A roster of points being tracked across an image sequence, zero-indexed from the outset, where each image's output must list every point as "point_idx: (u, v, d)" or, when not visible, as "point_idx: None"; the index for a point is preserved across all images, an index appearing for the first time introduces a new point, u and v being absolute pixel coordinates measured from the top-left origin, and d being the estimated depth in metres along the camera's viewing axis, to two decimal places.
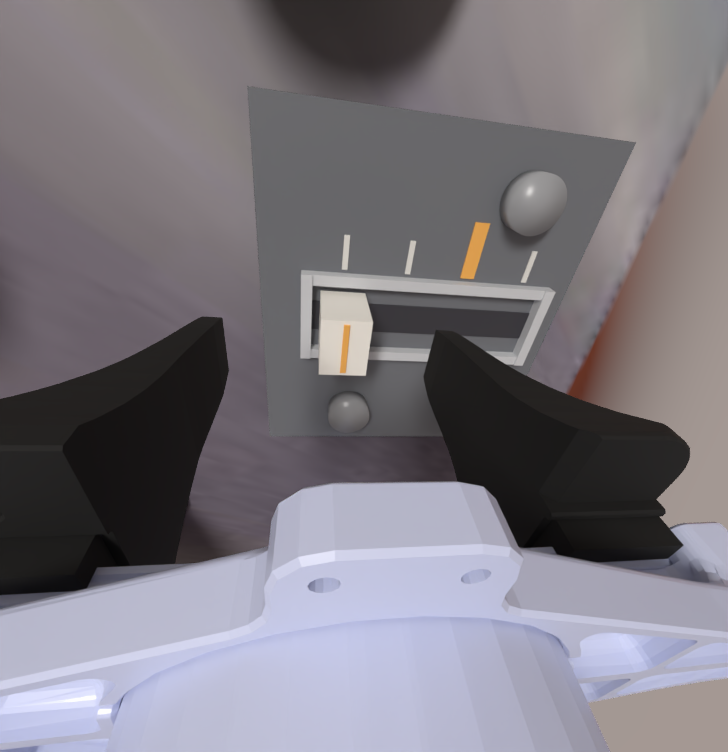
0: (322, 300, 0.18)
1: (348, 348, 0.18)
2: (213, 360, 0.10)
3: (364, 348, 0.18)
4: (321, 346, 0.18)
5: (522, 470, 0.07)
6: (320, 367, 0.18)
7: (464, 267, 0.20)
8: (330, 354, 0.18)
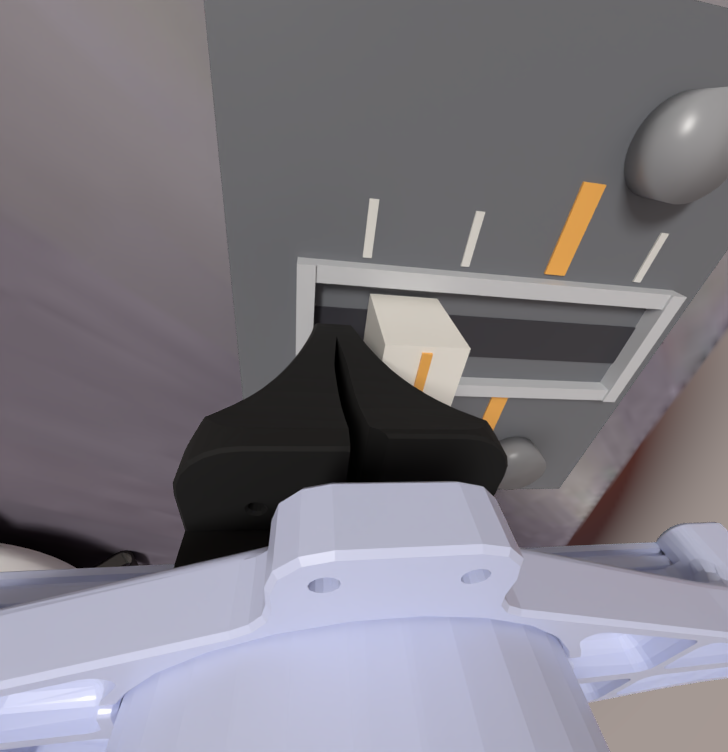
0: (377, 309, 0.11)
1: (422, 389, 0.11)
2: (334, 364, 0.11)
3: (448, 389, 0.11)
4: None
5: (354, 471, 0.07)
6: None
7: (553, 257, 0.13)
8: None
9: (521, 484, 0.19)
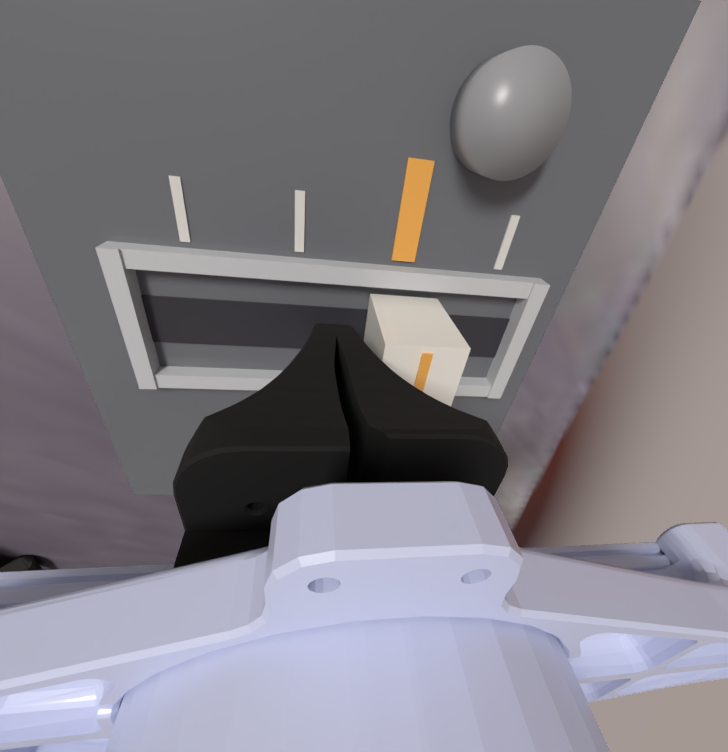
0: (377, 310, 0.11)
1: (423, 389, 0.11)
2: (334, 364, 0.11)
3: (448, 389, 0.11)
4: None
5: (354, 472, 0.07)
6: None
7: (397, 241, 0.12)
8: None
9: None
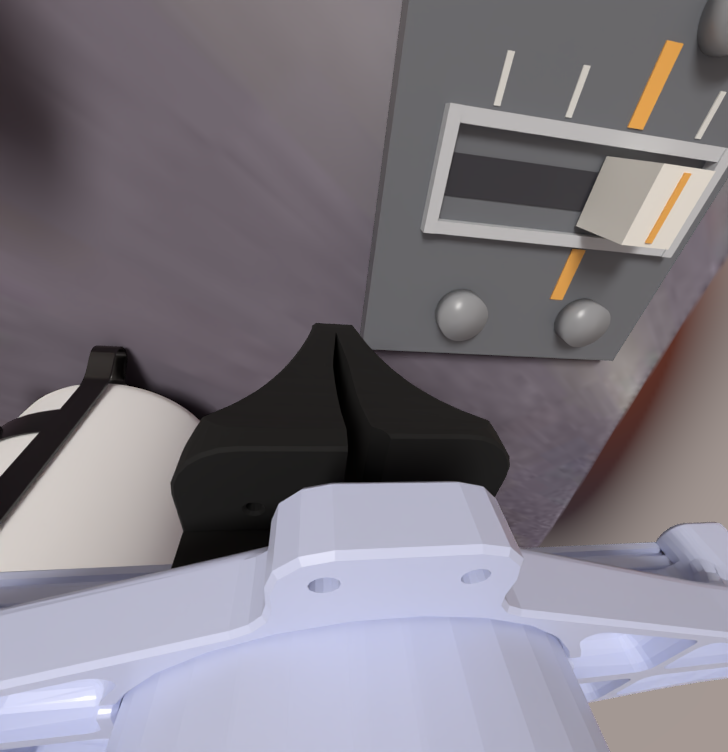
0: None
1: (670, 208, 0.15)
2: (333, 364, 0.11)
3: (687, 209, 0.15)
4: (644, 203, 0.15)
5: (356, 471, 0.07)
6: (628, 234, 0.16)
7: (636, 111, 0.16)
8: (648, 216, 0.15)
9: (587, 341, 0.22)
